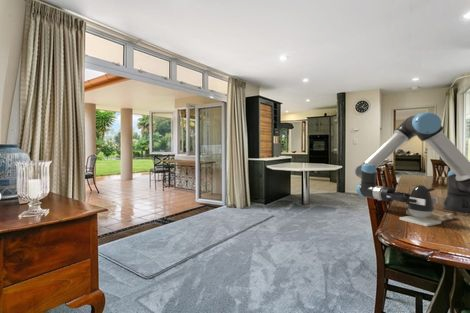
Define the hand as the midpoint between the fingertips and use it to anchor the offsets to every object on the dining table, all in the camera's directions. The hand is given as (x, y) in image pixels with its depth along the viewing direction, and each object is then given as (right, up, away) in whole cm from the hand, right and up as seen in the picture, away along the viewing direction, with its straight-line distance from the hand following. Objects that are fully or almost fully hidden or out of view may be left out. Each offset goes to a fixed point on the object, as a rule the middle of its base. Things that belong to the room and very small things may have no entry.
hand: (431, 201), depth 115 cm
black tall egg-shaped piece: (-2, -8, +4) cm, 9 cm away
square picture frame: (+10, -10, +14) cm, 20 cm away
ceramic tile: (-2, -10, +4) cm, 11 cm away
